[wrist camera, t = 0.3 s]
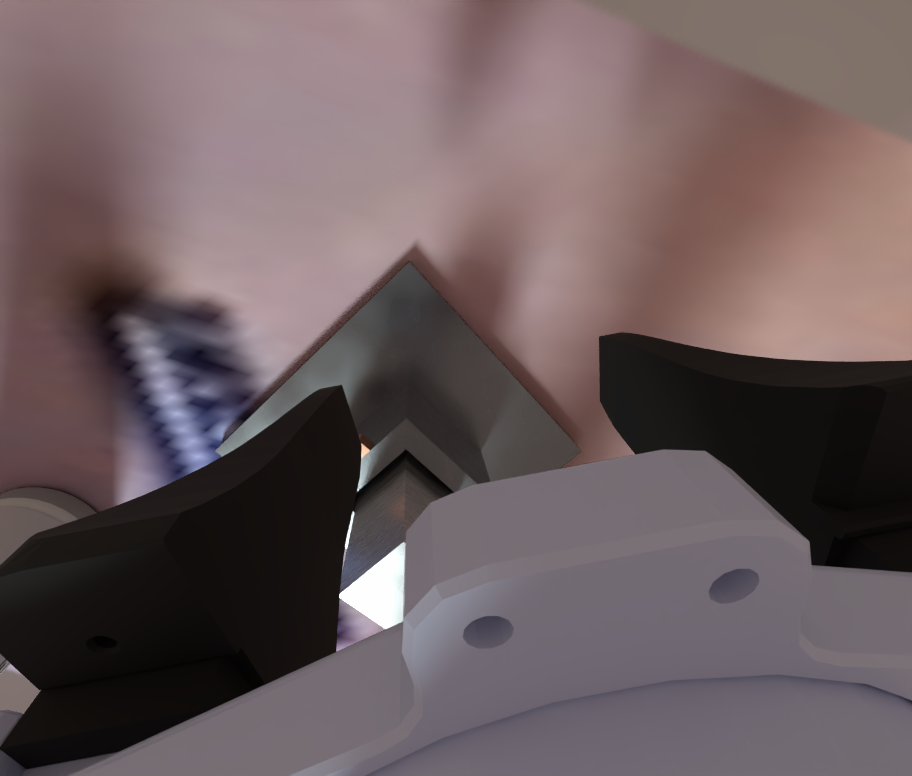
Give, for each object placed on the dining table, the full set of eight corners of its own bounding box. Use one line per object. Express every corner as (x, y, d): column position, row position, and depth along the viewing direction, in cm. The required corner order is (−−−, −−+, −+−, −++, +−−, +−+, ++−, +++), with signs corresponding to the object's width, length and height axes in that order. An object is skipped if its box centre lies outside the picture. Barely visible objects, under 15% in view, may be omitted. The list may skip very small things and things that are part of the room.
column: (406, 487, 24) (402, 642, 15) (365, 452, 23) (335, 596, 14) (447, 452, 23) (468, 591, 14) (407, 415, 22) (403, 540, 13)
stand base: (404, 581, 27) (403, 662, 22) (221, 443, 23) (166, 506, 18) (576, 444, 25) (618, 500, 20) (409, 260, 21) (408, 271, 15)
